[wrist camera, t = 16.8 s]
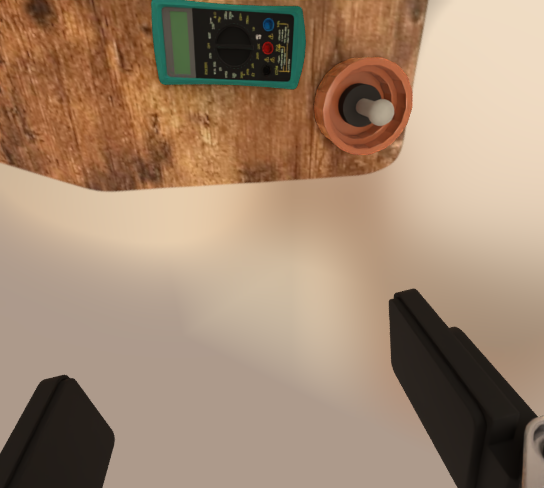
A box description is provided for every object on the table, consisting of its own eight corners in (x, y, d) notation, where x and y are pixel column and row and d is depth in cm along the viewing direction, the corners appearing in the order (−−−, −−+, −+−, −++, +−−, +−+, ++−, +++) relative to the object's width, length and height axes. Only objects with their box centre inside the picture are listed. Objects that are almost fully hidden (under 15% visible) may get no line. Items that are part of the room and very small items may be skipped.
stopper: (333, 121, 40) (357, 134, 33) (343, 79, 38) (370, 84, 31) (369, 127, 41) (399, 141, 33) (380, 86, 39) (415, 93, 32)
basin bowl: (305, 139, 41) (314, 149, 37) (323, 49, 37) (336, 48, 33) (378, 150, 43) (395, 160, 39) (403, 65, 39) (426, 66, 34)
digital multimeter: (298, 88, 39) (303, 90, 36) (161, 83, 37) (156, 84, 34) (303, 9, 35) (309, 5, 33) (153, 0, 34) (147, -6, 31)
